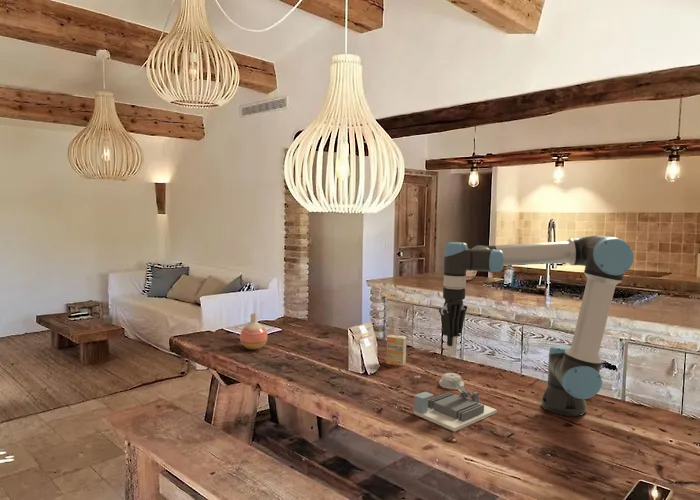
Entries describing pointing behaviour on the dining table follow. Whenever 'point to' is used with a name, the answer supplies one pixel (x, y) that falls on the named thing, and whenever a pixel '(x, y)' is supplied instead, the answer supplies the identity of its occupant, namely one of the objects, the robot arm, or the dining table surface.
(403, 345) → the supplement box
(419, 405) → the blue-grey block
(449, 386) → the beige hat
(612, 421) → the dining table surface
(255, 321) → the vase
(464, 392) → the strap
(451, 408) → the mechanical assembly board
